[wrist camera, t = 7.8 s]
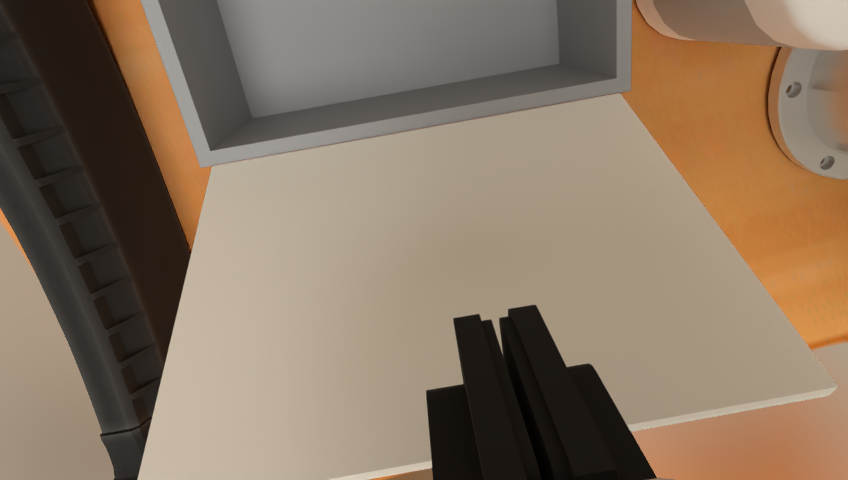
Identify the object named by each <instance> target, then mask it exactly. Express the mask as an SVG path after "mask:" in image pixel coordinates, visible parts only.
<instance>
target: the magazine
mask: <svg viewBox="0 0 848 480" xmlns="http://www.w3.org/2000/svg"><path fill="white" fill-rule="evenodd" d="M0 208H1V210H2V211H3V213H4V215H5V217H6V218H7V220H8V222H9V224H10V225H11V227H12V229H13V230H14V232H15V234H16V236H17V238H18V240H19V242H20V244H21V246H22V248H23V249H24V251H25V253H26V255H27V257H28V259H29V261H30V263H31V265H32V267H33V269H34V271H35V273H36V275H37V277H38V279H39V281H40V283H41V285H42V287H43V289H44V291H45V294H46V296H47V298H48V300H49V302H50V304H51V306H52V308H53V311H54V313H55V315H56V317H57V319H58V322H59V323H60V326H61V328H62V330H63V332H64V334H65V337H66V339H67V341H68V343H69V346H70V348H71V351H72V353H73V355H74V358H75V360H76V363H77V365H78V368H79V370H80V373H81V375H82V378H83V381H84V383H85V386H86V388H87V391H88V394H89V396H90V399H91V401H92V405H93V407H94V410H95V413H96V415H97V418H98V421H99V424H100V427H101V430H102V432H103V433H102V434H100V437H101V439H102V441H103V443H104V445H105V447H106V448H107V451H108V453H109V456H110V458H111V461H112V465H113V468H114V475H115V478H114V480H137V479H138V475H139V471H140V467H141V463H142V458H143V454H144V450H145V446H146V442H147V437H148V433H149V429H150V425H151V421H152V416H153V412H154V408H155V404H156V400H157V395H158V391H159V387H160V383H161V379H162V374H163V370H164V366H165V362H166V358H167V353H168V349H169V345H170V341H171V337H172V332H173V328H174V324H175V320H176V316H177V311H178V307H179V303H180V299H181V295H182V290H183V286H184V282H185V278H186V274H187V269H188V265H189V261H190V257H191V256H190V253H189V250H188V247H187V244H186V241H185V237H184V234H183V232H182V229H181V226H180V223H179V220H178V218H177V215H176V212H175V209H174V206H173V204H172V201H171V198H170V196H169V193H168V190H167V188H166V185H165V183H164V180H163V177H162V175H161V172H160V170H159V167H158V164H157V162H156V159H155V157H154V154H153V152H152V149H151V147H150V144H149V142H148V139H147V137H146V134H145V132H144V129H143V127H142V125H141V122H140V120H139V117H138V115H137V113H136V110H135V108H134V106H133V103H132V101H131V98H130V96H129V94H128V91H127V89H126V87H125V84H124V82H123V80H122V78H121V75H120V73H119V71H118V68H117V66H116V64H115V62H114V59H113V57H112V55H111V52H110V50H109V48H108V46H107V43H106V41H105V39H104V37H103V35H102V33H101V30H100V28H99V26H98V24H97V22H96V19H95V17H94V15H93V13H92V11H91V9H90V6H89V4H88V2H87V0H0Z"/></svg>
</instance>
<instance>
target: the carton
mask: <svg viewBox="0 0 848 480" xmlns="http://www.w3.org/2000/svg"><path fill="white" fill-rule="evenodd" d="M141 3H142V6H143V9H144V11H145V14H146V17H147V20H148V23H149V25H150V28H151V31H152V34H153V36H154V39H155V42H156V45H157V48H158V50H159V53H160V56H161V59H162V61H163V64H164V67H165V70H166V73H167V75H168V78H169V81H170V84H171V86H172V89H173V92H174V95H175V98H176V100H177V103H178V106H179V109H180V112H181V114H182V117H183V120H184V123H185V125H186V128H187V131H188V134H189V137H190V139H191V142H192V145H193V148H194V150H195V153H196V156H197V159H198V162H199V164H200V167H201V168H203V167H208V166H214V165H219V164H225V163H231V162H236V161H242V160H247V159H253V158H258V157H264V156H270V155H275V154H281V153H286V152H292V151H298V150H303V149H309V148H314V147H320V146H325V145H331V144H337V143H342V142H348V141H353V140H359V139H365V138H370V137H376V136H381V135H387V134H392V133H398V132H404V131H409V130H415V129H420V128H426V127H432V126H437V125H443V124H448V123H454V122H459V121H465V120H471V119H476V118H482V117H487V116H493V115H499V114H504V113H510V112H515V111H521V110H526V109H532V108H538V107H543V106H549V105H554V104H560V103H566V102H571V101H577V100H582V99H588V98H593V97H599V96H605V95H610V94H616V93H621V92H627V91H631V44H632V0H141Z"/></svg>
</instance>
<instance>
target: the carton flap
mask: <svg viewBox="0 0 848 480" xmlns="http://www.w3.org/2000/svg"><path fill="white" fill-rule="evenodd" d="M529 305H536V306H537V308H538V310H539V312H540V314H541V316H542V318H543V320H544V322H545V324H546V326H547V328H548V330H549V332H550V334H551V336H552V338H553V340H554V342H555V344H556V346H557V348H558V350H559V352H560V354H561V356H562V358H563V360H564V362H565V364H566V366H567V367H570V366H576V365H582V364H588V363H589V364H591V365H592V366H593V367H594V369H595V370H596V372H597V373H598V375H599V377H600V379H601V380H602V382H603V384H604V386H605V388H606V389H607V391H608V393H609V395H610V396H611V398H612V400H613V402H614V403H615V405H616V407H617V409H618V410H619V412H620V414H621V416H622V417H623V419H624V421H625V423H626V424H627V426H628V428H629V430H630V431H631V432H632V431H637V430H643V429H648V428H654V427H659V426H665V425H670V424H676V423H681V422H687V421H692V420H698V419H703V418H709V417H714V416H720V415H726V414H731V413H737V412H742V411H748V410H753V409H758V408H764V407H769V406H775V405H780V404H786V403H792V402H796V401H803V400H808V399H814V398H819V397H825V396H829V395H830V394H831V393H832V392H833V391H834V390H835V389H837V387H838V385H837V384H836V383H835V381H834V380H833V379H832V378H831V376H830V375H829V373H828V372H827V371H826V369H825V368H824V367H823V365H822V364H821V363H820V361H819V360H818V359H817V357H816V356H815V355H814V353H813V352H812V351H811V349H810V348H809V346H808V345H807V344H806V342H805V341H804V340H803V338H802V337H801V336H800V334H799V333H798V332H797V330H796V329H795V328H794V326H793V325H792V324H791V322H790V321H789V320H788V318H787V317H786V316H785V314H784V313H783V312H782V310H781V309H780V307H779V306H778V305H777V303H776V302H775V301H774V299H773V298H772V297H771V295H770V294H769V293H768V291H767V290H766V289H765V287H764V286H763V285H762V283H761V282H760V281H759V279H758V278H757V277H756V275H755V274H754V273H753V271H752V270H751V268H750V267H749V266H748V264H747V263H746V262H745V260H744V259H743V258H742V256H741V255H740V254H739V252H738V251H737V250H736V248H735V247H734V246H733V244H732V243H731V242H730V240H729V239H728V238H727V236H726V235H725V234H724V232H723V231H722V230H721V228H720V227H719V225H718V224H717V223H716V221H715V220H714V219H713V217H712V216H711V215H710V213H709V212H708V211H707V209H706V208H705V207H704V205H703V204H702V203H701V201H700V200H699V199H698V197H697V196H696V195H695V193H694V192H693V191H692V189H691V188H690V186H689V185H688V184H687V182H686V181H685V180H684V178H683V177H682V176H681V174H680V173H679V172H678V170H677V169H676V168H675V166H674V165H673V164H672V162H671V161H670V160H669V158H668V157H667V156H666V154H665V153H664V152H663V150H662V149H661V148H660V146H659V145H658V143H657V142H656V141H655V139H654V138H653V137H652V135H651V134H650V133H649V131H648V130H647V129H646V127H645V126H644V125H643V123H642V122H641V121H640V119H639V118H638V117H637V115H636V114H635V113H634V111H633V110H632V109H631V107H630V106H629V104H628V103H627V102H626V100H625V99H624V98H623V96H622V95H621V94H620V93H619V94H613V95H608V96H602V97H596V98H591V99H585V100H580V101H574V102H568V103H563V104H557V105H552V106H546V107H541V108H535V109H529V110H524V111H518V112H513V113H507V114H501V115H496V116H490V117H485V118H479V119H474V120H468V121H462V122H457V123H451V124H446V125H440V126H434V127H429V128H423V129H418V130H412V131H407V132H401V133H395V134H390V135H384V136H379V137H373V138H367V139H362V140H356V141H351V142H345V143H340V144H334V145H328V146H323V147H317V148H312V149H306V150H300V151H295V152H289V153H284V154H278V155H273V156H267V157H261V158H256V159H250V160H245V161H239V162H233V163H228V164H222V165H217V166H212V168H211V173H210V177H209V181H208V185H207V189H206V194H205V198H204V202H203V206H202V210H201V215H200V219H199V223H198V227H197V231H196V236H195V240H194V244H193V248H192V252H191V257H190V261H189V265H188V269H187V274H186V278H185V282H184V286H183V290H182V295H181V299H180V303H179V307H178V311H177V316H176V320H175V324H174V328H173V332H172V337H171V341H170V345H169V349H168V353H167V358H166V362H165V366H164V370H163V374H162V379H161V383H160V387H159V391H158V395H157V400H156V404H155V408H154V412H153V416H152V421H151V425H150V429H149V433H148V437H147V442H146V446H145V450H144V454H143V458H142V463H141V467H140V471H139V475H138V479H137V480H368V479H373V478H379V477H384V476H390V475H395V474H401V473H406V472H412V471H417V470H423V469H428V468H432V459H431V447H430V435H429V423H428V412H427V400H426V390H431V389H437V388H443V387H449V386H455V385H461V384H463V377H462V371H461V365H460V359H459V353H458V347H457V341H456V335H455V329H454V322H453V318H457V317H463V316H469V315H475V314H480V317H481V321H483V320H489V319H491V320H492V323H493V326H494V329H495V332H496V335H497V338H498V342H499V345H500V348H501V351H502V342H501V334H500V326H499V318H501V317H507V316H508V309H511V308H517V307H523V306H529ZM502 354H503V351H502Z"/></svg>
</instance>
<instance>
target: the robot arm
mask: <svg viewBox="0 0 848 480" xmlns="http://www.w3.org/2000/svg"><path fill="white" fill-rule="evenodd" d="M768 109H769V119H770V124H771V128H772V132H773V135H774V137H775V139H776V141H777V143H778V145H779V147H780V149H781V150H782V151H783V152H784V153H785V154H786V156H787V157H788V158H789V159H790V160H791V161H792V162H794V163H795V164H797V165H798V166H800V167H801V168H803V169H805V170H807V171H810V172H813V173H815V174H818V175H820V176H824V177H829V178H833V179H838V180H848V50H840V51H831V50H817V49H803V48H790V47H782V48H781V50H780V52H779V55H778V58H777V60H776V63H775V66H774V69H773V72H772V76H771V82H770V88H769V94H768ZM453 322H454V329H455V335H456V341H457V347H458V353H459V359H460V365H461V371H462V377H463V384H461V385H455V386H449V387H443V388H437V389H431V390H426V400H427V412H428V423H429V435H430V447H431V459H432V471H433V480H673V479H663V478H657V477H656V476H655V474H654V472H653V470H652V468H651V467H650V465H649V463H648V461H647V460H646V458H645V456H644V454H643V452H642V451H641V449H640V447H639V446H638V444H637V442H636V440H635V438H634V437H633V435H632V433H631V431H630V430H629V428H628V426H627V424H626V423H625V421H624V419H623V417H622V416H621V414H620V412H619V410H618V409H617V407H616V405H615V403H614V402H613V400H612V398H611V396H610V395H609V393H608V391H607V389H606V388H605V386H604V384H603V382H602V380H601V379H600V377H599V375H598V373H597V372H596V370H595V369H594V367H593V366H592V365H591V364H589V363H588V364H582V365H576V366H570V367H567V366H566V364H565V362H564V360H563V358H562V356H561V354H560V352H559V350H558V348H557V346H556V344H555V342H554V340H553V338H552V336H551V334H550V332H549V330H548V328H547V326H546V324H545V322H544V320H543V318H542V316H541V314H540V312H539V310H538V308H537V306H536V305H529V306H523V307H517V308H511V309H508V316H507V317H501V318H499V326H500V334H501V342H502V351H503V354H502V351H501V348H500V345H499V342H498V338H497V335H496V332H495V329H494V326H493V323H492V320H491V319H489V320H483V321H481V317H480V314H475V315H469V316H463V317H457V318H453Z"/></svg>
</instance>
